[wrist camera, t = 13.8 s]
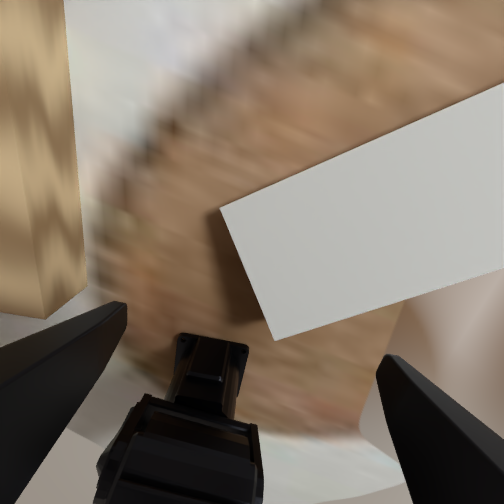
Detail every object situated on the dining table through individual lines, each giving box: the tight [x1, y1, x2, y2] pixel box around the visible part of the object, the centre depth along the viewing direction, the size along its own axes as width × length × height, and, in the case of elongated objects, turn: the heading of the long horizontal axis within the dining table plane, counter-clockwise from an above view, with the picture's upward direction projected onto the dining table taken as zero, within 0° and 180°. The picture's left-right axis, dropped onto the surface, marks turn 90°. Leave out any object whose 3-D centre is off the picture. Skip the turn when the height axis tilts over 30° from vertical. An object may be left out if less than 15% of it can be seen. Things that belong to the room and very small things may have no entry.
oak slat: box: [0, 0, 87, 319], centre depth 16 cm, size 26×4×5 cm, turn 171°
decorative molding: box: [220, 83, 504, 341], centre depth 17 cm, size 34×5×10 cm
